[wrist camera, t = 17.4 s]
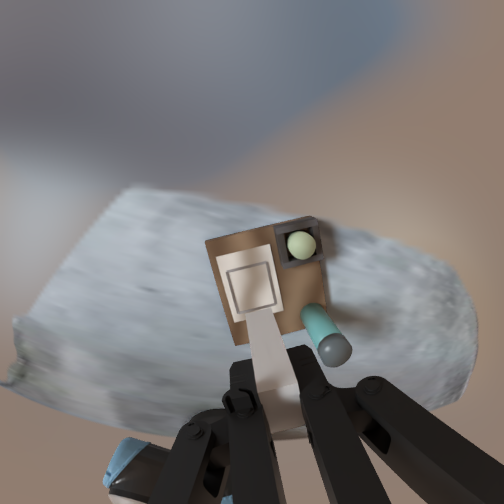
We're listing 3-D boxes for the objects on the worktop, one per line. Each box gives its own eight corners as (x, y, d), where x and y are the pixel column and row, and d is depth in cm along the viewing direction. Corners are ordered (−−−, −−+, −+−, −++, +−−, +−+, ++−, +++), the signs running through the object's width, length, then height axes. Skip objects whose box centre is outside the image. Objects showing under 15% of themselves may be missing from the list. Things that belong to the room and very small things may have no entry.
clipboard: (235, 342, 45) (235, 354, 42) (205, 240, 41) (203, 246, 37) (325, 318, 46) (332, 328, 42) (309, 215, 41) (317, 218, 38)
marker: (313, 328, 45) (337, 371, 33) (294, 317, 44) (315, 360, 32) (328, 309, 44) (358, 348, 33) (310, 297, 43) (337, 335, 32)
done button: (288, 256, 40) (292, 262, 37) (283, 233, 39) (287, 236, 37) (311, 250, 40) (317, 255, 38) (307, 227, 39) (313, 230, 37)
